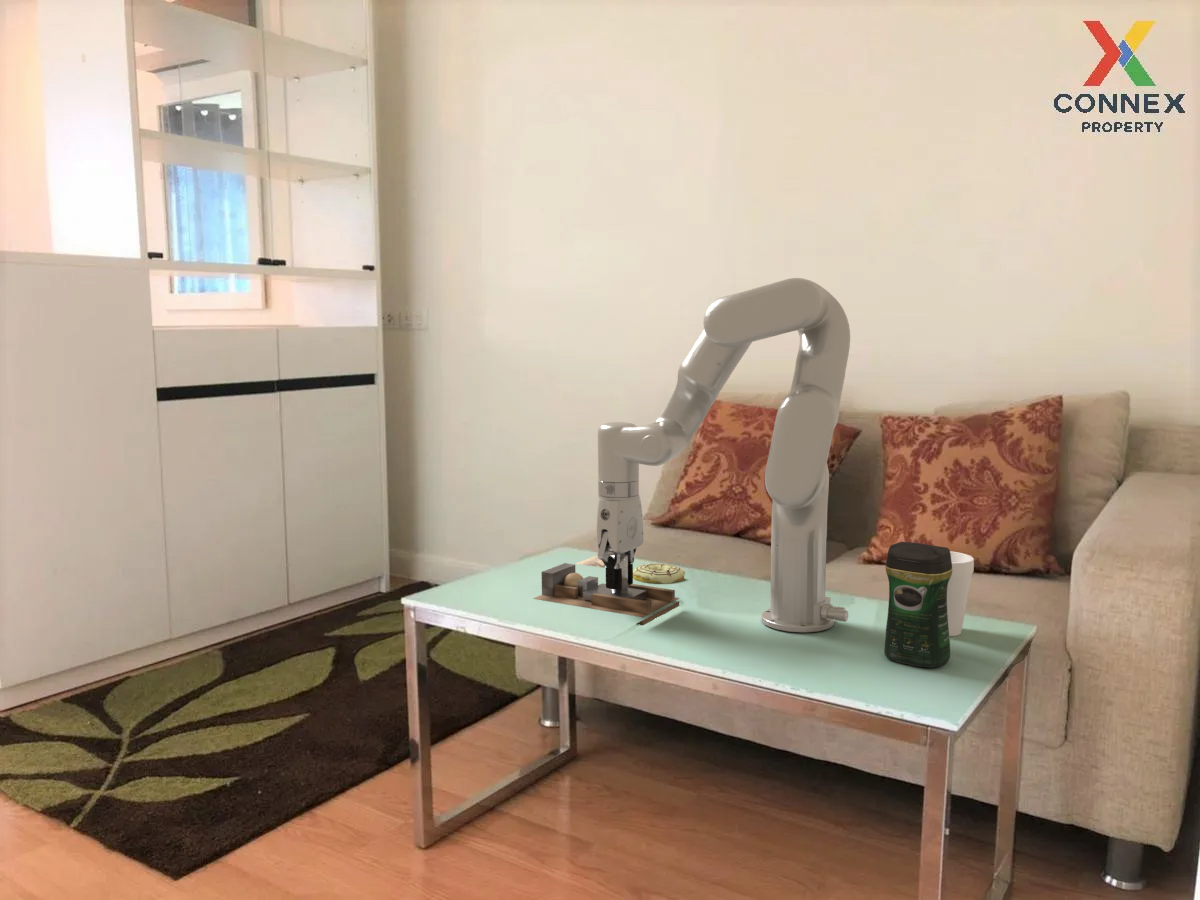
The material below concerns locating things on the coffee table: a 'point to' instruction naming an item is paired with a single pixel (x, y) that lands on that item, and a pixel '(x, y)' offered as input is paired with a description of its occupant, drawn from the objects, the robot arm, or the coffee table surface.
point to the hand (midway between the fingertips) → (619, 585)
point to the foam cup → (958, 590)
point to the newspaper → (592, 562)
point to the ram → (591, 586)
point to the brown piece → (605, 596)
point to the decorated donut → (658, 573)
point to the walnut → (572, 579)
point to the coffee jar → (918, 604)
